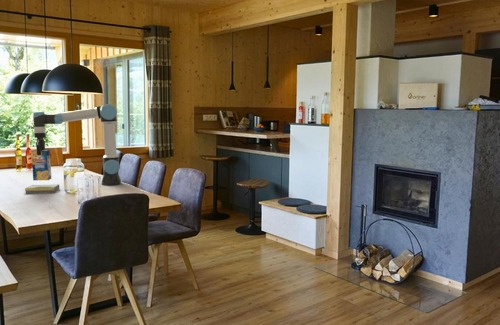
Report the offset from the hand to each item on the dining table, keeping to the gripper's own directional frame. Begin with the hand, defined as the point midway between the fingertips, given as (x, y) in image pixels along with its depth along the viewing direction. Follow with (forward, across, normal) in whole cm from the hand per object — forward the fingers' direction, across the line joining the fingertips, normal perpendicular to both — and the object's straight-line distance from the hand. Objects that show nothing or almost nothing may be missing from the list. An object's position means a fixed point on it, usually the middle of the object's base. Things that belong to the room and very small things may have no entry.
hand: (41, 163), depth 332 cm
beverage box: (+12, 0, 0) cm, 12 cm away
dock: (+21, +1, 0) cm, 21 cm away
